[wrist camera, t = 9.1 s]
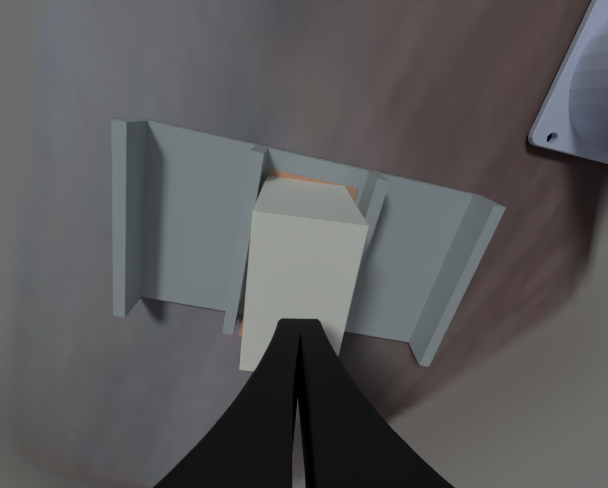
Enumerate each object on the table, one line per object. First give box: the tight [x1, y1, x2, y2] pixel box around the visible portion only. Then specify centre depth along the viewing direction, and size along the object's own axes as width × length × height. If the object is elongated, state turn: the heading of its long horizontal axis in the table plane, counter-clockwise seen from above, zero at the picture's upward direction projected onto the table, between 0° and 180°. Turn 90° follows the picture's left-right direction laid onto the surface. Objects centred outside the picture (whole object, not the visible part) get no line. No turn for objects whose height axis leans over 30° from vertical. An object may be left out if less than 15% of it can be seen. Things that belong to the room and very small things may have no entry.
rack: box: [111, 117, 506, 367], centre depth 17 cm, size 18×10×2 cm, turn 77°
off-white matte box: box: [239, 176, 369, 371], centre depth 15 cm, size 4×7×6 cm, turn 172°
